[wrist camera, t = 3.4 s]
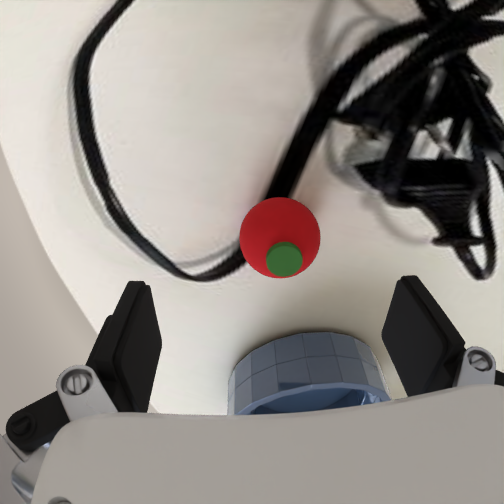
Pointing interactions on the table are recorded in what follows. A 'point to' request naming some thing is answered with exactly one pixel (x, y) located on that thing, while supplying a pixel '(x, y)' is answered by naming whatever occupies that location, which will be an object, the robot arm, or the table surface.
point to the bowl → (306, 376)
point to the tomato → (279, 237)
